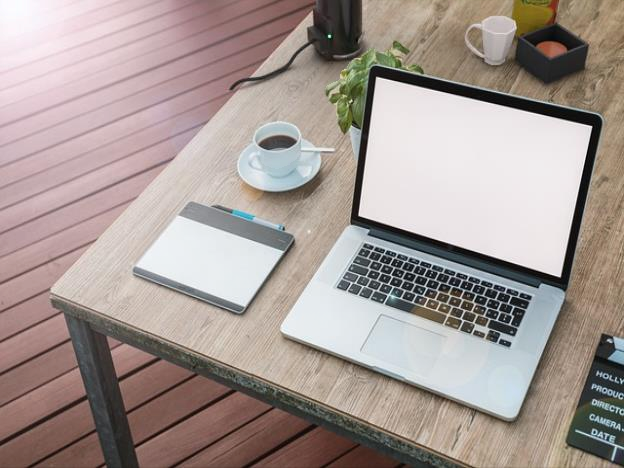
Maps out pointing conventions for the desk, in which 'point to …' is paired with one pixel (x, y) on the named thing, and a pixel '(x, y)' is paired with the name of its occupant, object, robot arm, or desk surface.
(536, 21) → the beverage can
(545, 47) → the terracotta disc
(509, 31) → the cup
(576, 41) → the tub
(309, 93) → the desk surface
